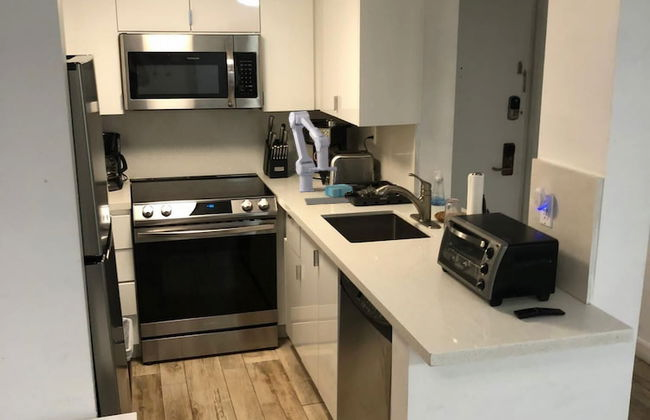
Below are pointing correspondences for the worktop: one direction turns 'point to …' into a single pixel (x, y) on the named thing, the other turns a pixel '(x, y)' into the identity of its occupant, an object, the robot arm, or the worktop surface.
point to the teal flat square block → (337, 190)
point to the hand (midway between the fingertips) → (323, 184)
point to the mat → (326, 200)
